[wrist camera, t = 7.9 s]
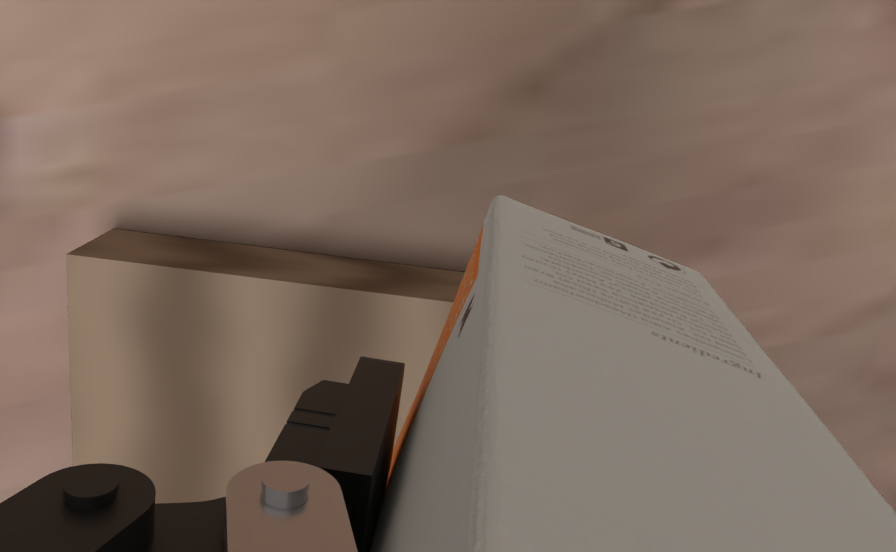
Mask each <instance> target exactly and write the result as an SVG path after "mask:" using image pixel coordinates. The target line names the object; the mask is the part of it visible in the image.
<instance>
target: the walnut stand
mask: <svg viewBox="0 0 896 552" xmlns="http://www.w3.org/2000/svg"><path fill="white" fill-rule="evenodd" d="M66 259H67V291H68V323H69V355H70V387H71V419H72V451H73V466H78V465H84V464H96V463H106V464H117V465H123V466H127V467H130V468H133V469H136V470H138V471H140V472H142V473H143V474H145V475H146V476H148V477H149V478H150V479H151V481H152V482H153V484H154V486H155V490H156V497H155V504H159V503H185V502H201V501H208V500H214V499H218V498H222V497H225V496H226V489H227V485H228V483H229V481H230V480H231V479H232V477H233V476H234V475H236V474H237V473H238V472H239V471H241V470H243V469H245V468H247V467H249V466H252V465H255V464H259V463H263V462H265V460H266V458H267V457H268V455H269V453H270V451H271V449H272V447H273V446H274V444H275V442H276V440H277V438H278V436H279V435H280V433H281V431H282V429H283V427H284V425H285V424H287V420H288V418H289V416H290V414H291V413H292V411H294V407H295V405H296V404H297V402H298V400H299V398H300V396H301V394H302V393H303V391H305V390H307V389H308V388H310V387H312V386H314V385H315V384H317V383H319V382H320V381H322V380H328V381H334V382H340V383H346V384H349V382H350V380H351V378H352V375H353V373H354V371H355V368H356V366H357V364H358V361H359V359H360V357H361V356H364V357H370V358H376V359H382V360H388V361H395V362H401V363H405V368H404V377H403V384H402V391H401V398H400V405H399V412H398V419H397V426H396V433H395V440H394V443H395V441H396V439H397V436H398V434H399V432H400V429H401V427H402V425H403V423H404V420H405V418H406V416H407V413H408V411H409V409H410V406H411V404H412V402H413V399H414V397H415V395H416V392H417V390H418V388H419V385H420V383H421V381H422V378H423V376H424V374H425V371H426V369H427V367H428V364H429V362H430V360H431V358H432V355H433V353H434V350H435V348H436V345H437V343H438V340H439V338H440V335H441V333H442V330H443V327H444V325H445V322H446V320H447V317H448V315H449V312H450V310H451V307H452V305H453V302H454V300H455V297H456V294H457V292H458V289H459V286H460V284H461V281H462V279H463V276H464V273H465V272H459V271H451V270H443V269H435V268H427V267H419V266H411V265H403V264H395V263H387V262H379V261H371V260H363V259H354V258H346V257H338V256H330V255H322V254H314V253H306V252H298V251H290V250H282V249H274V248H266V247H258V246H250V245H242V244H234V243H226V242H218V241H210V240H201V239H193V238H185V237H177V236H169V235H161V234H153V233H145V232H137V231H129V230H121V229H112V230H110V231H108V232H106V233H105V234H103V235H101V236H99V237H97V238H95V239H94V240H92V241H90V242H88V243H86V244H84V245H83V246H81V247H79V248H77V249H75V250H73V251H72V252H70V253H68V254H66Z"/></svg>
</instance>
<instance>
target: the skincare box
mask: <svg viewBox="0 0 896 552" xmlns="http://www.w3.org/2000/svg"><path fill="white" fill-rule="evenodd" d="M370 552H896V512H895V511H894V510H893V508H892V507H891V506H890V505H889V504H888V503H887V502H886V501H885V499H884V498H883V497H882V496H881V495H880V494H879V492H878V491H877V490H876V489H875V487H874V486H873V485H872V484H871V482H870V481H869V480H868V479H867V477H866V476H865V475H864V473H863V472H862V471H861V469H860V468H859V467H858V466H857V464H856V463H855V462H854V461H853V459H852V458H851V457H850V456H849V454H848V453H847V452H846V451H845V449H844V448H843V447H842V445H841V444H840V443H839V442H838V440H837V439H836V438H835V437H834V436H833V435H832V434H831V432H830V431H829V430H828V428H827V427H826V426H825V425H824V424H823V423H822V422H821V420H820V419H819V418H818V416H817V415H816V414H815V412H814V411H813V410H812V409H811V408H810V406H809V405H808V404H807V403H806V402H805V400H804V399H803V398H802V397H801V395H800V394H799V393H798V392H797V390H796V389H795V388H794V387H793V386H792V384H791V383H790V382H789V381H788V379H787V378H786V377H785V376H784V375H783V374H782V373H781V371H780V370H779V369H778V368H777V366H776V365H775V364H774V363H773V362H772V360H771V359H770V358H769V357H768V356H767V354H766V353H765V352H764V351H763V349H762V348H761V347H760V346H759V344H758V343H757V342H756V341H755V339H754V338H753V337H752V336H751V334H750V333H749V332H748V331H747V329H746V328H745V327H744V326H743V324H742V323H741V322H740V321H739V320H738V318H737V317H736V316H735V315H734V313H733V312H732V311H731V310H730V308H729V307H728V306H727V305H726V303H725V302H724V301H723V300H722V299H721V297H720V296H719V295H718V294H717V293H716V291H715V290H714V289H713V288H712V286H711V285H710V284H709V283H708V281H707V280H706V279H705V278H704V276H703V275H702V274H701V273H699V272H698V271H696V270H693V269H691V268H688V267H686V266H683V265H681V264H678V263H675V262H673V261H670V260H668V259H665V258H663V257H660V256H657V255H655V254H652V253H650V252H648V251H645V250H643V249H640V248H638V247H635V246H633V245H630V244H628V243H625V242H623V241H620V240H618V239H615V238H612V237H610V236H607V235H604V234H602V233H599V232H596V231H593V230H591V229H588V228H585V227H583V226H580V225H577V224H574V223H572V222H569V221H567V220H564V219H561V218H559V217H556V216H554V215H551V214H548V213H546V212H543V211H541V210H538V209H536V208H533V207H530V206H528V205H525V204H523V203H520V202H518V201H516V200H513V199H511V198H509V197H506V196H503V195H498V196H496V197H495V198H494V199H493V200H492V201H491V204H490V207H489V209H488V212H487V215H486V217H485V220H484V223H483V226H482V229H481V231H480V234H479V237H478V239H477V242H476V244H475V247H474V250H473V252H472V255H471V258H470V260H469V263H468V266H467V268H466V271H465V273H464V276H463V279H462V281H461V284H460V286H459V289H458V292H457V294H456V297H455V300H454V302H453V305H452V307H451V310H450V312H449V315H448V317H447V320H446V322H445V325H444V327H443V330H442V333H441V335H440V338H439V340H438V343H437V345H436V348H435V350H434V353H433V355H432V358H431V360H430V362H429V364H428V367H427V369H426V371H425V374H424V376H423V378H422V381H421V383H420V385H419V388H418V390H417V392H416V395H415V397H414V399H413V402H412V404H411V406H410V409H409V411H408V413H407V416H406V418H405V420H404V423H403V425H402V427H401V429H400V432H399V434H398V436H397V439H396V441H395V443H394V447H393V453H392V460H391V466H390V471H389V477H388V482H387V486H386V490H385V494H384V498H383V501H382V505H381V509H380V513H379V517H378V521H377V525H376V529H375V533H374V537H373V541H372V545H371V549H370Z"/></svg>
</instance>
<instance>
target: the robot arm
mask: <svg viewBox="0 0 896 552" xmlns="http://www.w3.org/2000/svg"><path fill="white" fill-rule="evenodd" d="M404 368H405V363H401V362H395V361H388V360H382V359H376V358H370V357H364V356H361V357H360V359H359V361H358V364H357V366H356V368H355V371H354V373H353V375H352V378H351V380H350V382H349V384H346V383H340V382H334V381H328V380H322V381H320V382H319V383H317V384H315V385H314V386H312V387H310V388H308V389H307V390H305V391H303V393H302V394H301V396H300V398H299V400H298V402H297V404H296V405H295V407H294V411H292V413H291V414H290V416H289V418H288V420H287V424H285V425H284V427H283V429H282V431H281V433H280V435H279V436H278V438H277V440H276V442H275V444H274V446H273V447H272V449H271V451H270V453H269V455H268V457H267V458H266V460H265V462H263V463H259V464H255V465H252V466H249V467H247V468H245V469H243V470H241V471H239V472H238V473H237V474H236V475H234V476H233V477H232V479H231V480H230V481H229V483H228V485H227V489H226V496H225V497H222V498H218V499H214V500H208V501H201V502H185V503H159V504H155V497H156V490H155V486H154V484H153V482H152V481H151V479H150V478H149V477H148V476H146V475H145V474H143V473H142V472H140V471H138V470H136V469H133V468H130V467H127V466H123V465H117V464H106V463H96V464H84V465H78V466H73V467H68V468H65V469H62V470H59V471H56V472H54V473H51V474H49V475H47V476H45V477H43V478H41V479H40V480H38V481H36V482H35V483H33V484H31V485H30V486H28V487H27V488H25V489H23V490H22V491H20V492H18V493H17V494H15V495H13V496H12V497H10V498H8V499H7V500H5V501H4V502H2V503H0V552H370V549H371V545H372V541H373V537H374V533H375V529H376V525H377V521H378V517H379V513H380V509H381V505H382V501H383V498H384V494H385V490H386V486H387V482H388V477H389V471H390V466H391V460H392V453H393V447H394V440H395V433H396V426H397V419H398V412H399V405H400V398H401V391H402V384H403V377H404Z"/></svg>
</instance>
